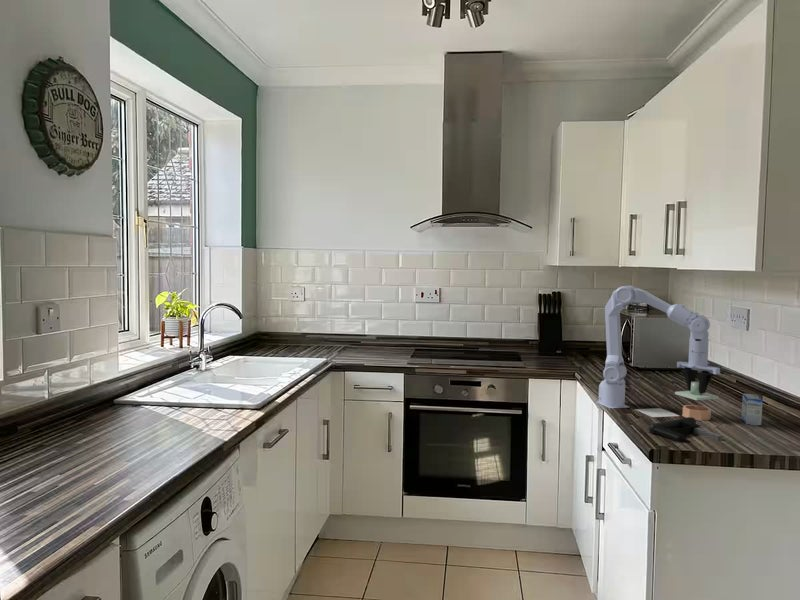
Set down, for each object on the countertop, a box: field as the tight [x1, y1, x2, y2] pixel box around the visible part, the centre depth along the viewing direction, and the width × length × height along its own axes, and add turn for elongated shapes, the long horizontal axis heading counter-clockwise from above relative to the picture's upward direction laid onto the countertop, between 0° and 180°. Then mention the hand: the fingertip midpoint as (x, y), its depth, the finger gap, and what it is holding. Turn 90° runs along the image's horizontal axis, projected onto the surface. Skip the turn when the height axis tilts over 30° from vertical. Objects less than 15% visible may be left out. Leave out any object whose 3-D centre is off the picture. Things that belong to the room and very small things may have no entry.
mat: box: [634, 407, 680, 418], centre depth 198 cm, size 10×10×1 cm
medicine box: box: [741, 393, 763, 426], centre depth 189 cm, size 8×4×9 cm, turn 159°
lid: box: [674, 380, 720, 401], centre depth 192 cm, size 9×9×5 cm
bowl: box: [681, 404, 712, 421], centre depth 193 cm, size 8×8×4 cm
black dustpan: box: [648, 417, 723, 443], centre depth 174 cm, size 3×20×16 cm
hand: (696, 391), depth 192 cm, fingers closed on lid, 4 cm apart
